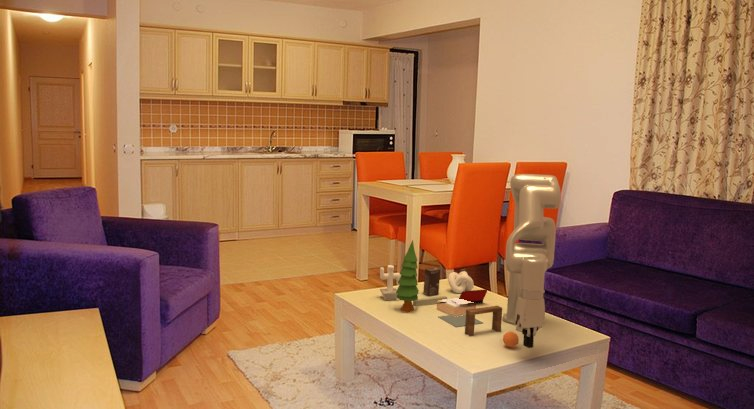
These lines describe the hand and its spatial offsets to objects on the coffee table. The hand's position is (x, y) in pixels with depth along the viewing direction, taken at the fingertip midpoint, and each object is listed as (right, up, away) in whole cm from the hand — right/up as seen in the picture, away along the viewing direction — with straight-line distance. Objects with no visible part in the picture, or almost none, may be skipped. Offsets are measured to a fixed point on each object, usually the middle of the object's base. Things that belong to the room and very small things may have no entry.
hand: (528, 346), depth 205 cm
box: (-27, +7, +71) cm, 76 cm away
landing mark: (-18, +2, +36) cm, 41 cm away
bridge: (-11, 0, +23) cm, 26 cm away
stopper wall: (-28, +5, +57) cm, 64 cm away
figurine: (-46, +6, +62) cm, 78 cm away
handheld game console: (-11, +5, +60) cm, 61 cm away
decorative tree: (-39, +4, +47) cm, 61 cm away
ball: (-4, 0, +9) cm, 10 cm away
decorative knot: (-13, +7, +78) cm, 79 cm away
